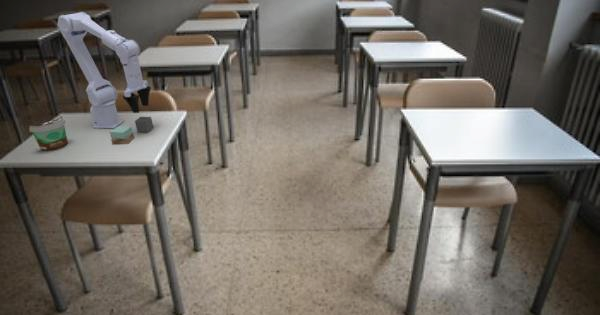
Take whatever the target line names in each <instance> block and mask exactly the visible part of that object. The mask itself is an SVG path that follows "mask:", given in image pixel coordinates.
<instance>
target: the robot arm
mask: <svg viewBox="0 0 600 315" xmlns="http://www.w3.org/2000/svg"><path fill="white" fill-rule="evenodd" d="M57 27H58V29H59V31H60V33H61V35H62V37H63V38H64V40H65V41H66V43H67V45H68V47H69V49H70V51H71V52H72V55H73V56H74V58H75V60H76V62H77V64H78V65H79V67H80V69H81V71H82V73H83V75H84V77H85V79H86V81H87V82H88V85H87V88H86V89H85V92H86V95H87V97H88V100H89V101H88V102H89V103H90V104H91V106H90V109H89V114H90V117H91V121H92V123H93V126H92V128H93V129H96V128H97V129H115V128H116V127H118V126H120V125H121V124H122V123H123V122H124V121H125V120H123V119H120V118H119V115H118V110H117V106H116V102H117V101H116V100H117V99H118V91H117V89H116V88H115V86H113V85H112V83H111V82H110V81H109V80H107V79H105V78H103V77H102V75H101V72H100V70H99V69H98V67H97V65H96V63H95V61H94V59H93V58H92V55H91V54H90V52H89V50H88V48H87V46H86V44H85V42H84V37H85V36H86V35H87V33H90V34H91V35H93V36H95V37H97V38H99V39H101V42H102V44H103V45H105V46H106V47H108V48H109V49H111V50H113V52H114V51H115V53H116V55H117V57H118V58H119V60H120V61H119V62H120V63H121V64H122V67H123V71H124V77H125V80H126V85H127V87H126V89H125V90H124V91H123V96H122V99H123V100H125V102H126V103H127V104H128V105H129V108H130V109H131V111H132V113H134V114H139V113H140V107H139V106H140V105H139V100H140V104H141V105H142V106H143V107H145V106H146V107H148V106H149V99H150V93H151V89H152V87H151V86H149V83H148V80H144V78H143V75H142V70H141V66H140V61H139V56H138V55H140V53H141V48H140V46H139V44H138V42H136V41H135V40H134V39H127V38H125V37H123V36H121V35H120V34H118V33H117V32H116V31H115V30H114V29H112V30H111V29H110V30H106V29H105V28H104V27H101V26H100V25H99V24H98V23H96V22H95V21H94V20H92V18H91V16H90V15H89V14H87V13H86V12H84V11H79V12H76V13H71V14H65V15H64V14H61V15H59V16H58V19H57ZM136 93H137V95H136Z"/></svg>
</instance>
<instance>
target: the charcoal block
mask: <svg viewBox="0 0 600 315" xmlns="http://www.w3.org/2000/svg"><path fill="white" fill-rule="evenodd" d="M134 122H135V127H136V132H137V133H139V134H140V133H141V134H142V133H143V134H149V133H150V132H151V131H153V130H154V129H153V128H154V124H153V119H152V116H139V117H138V118H137V119H136V120H134Z"/></svg>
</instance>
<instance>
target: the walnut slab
mask: <svg viewBox="0 0 600 315" xmlns="http://www.w3.org/2000/svg"><path fill="white" fill-rule="evenodd" d="M134 138H135V136H134V132H133V133H132V134H131V135H129V136H128V137H127V138H125V139H118V138H110V140H111V143H112V145H128V144H130V143H131V142H132V140H133V139H134Z"/></svg>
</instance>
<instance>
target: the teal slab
mask: <svg viewBox="0 0 600 315" xmlns="http://www.w3.org/2000/svg"><path fill="white" fill-rule="evenodd" d="M132 133H133V134H134V132H133V128H132V126H122V125H121V126H120V125H118V126H117V127H115V128H112V130H110V131H109V135H110V139H112V138H118V139H125V138H127V137H128V136H129V135H131V134H132Z"/></svg>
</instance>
